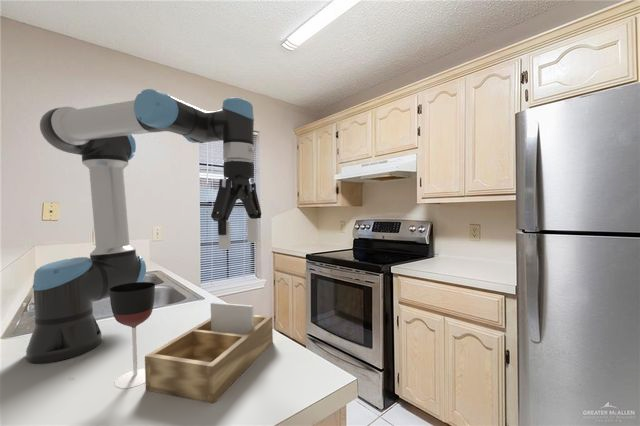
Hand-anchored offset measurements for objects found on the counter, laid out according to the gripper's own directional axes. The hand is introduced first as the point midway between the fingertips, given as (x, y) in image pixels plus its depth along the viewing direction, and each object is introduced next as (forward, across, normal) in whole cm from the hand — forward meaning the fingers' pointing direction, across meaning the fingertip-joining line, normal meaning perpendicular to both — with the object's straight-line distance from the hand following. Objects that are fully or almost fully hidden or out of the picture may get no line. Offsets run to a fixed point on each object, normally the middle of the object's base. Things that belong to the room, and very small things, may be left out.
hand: (239, 245), depth 75 cm
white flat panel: (+26, -1, +2) cm, 26 cm away
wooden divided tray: (+27, -7, +2) cm, 28 cm away
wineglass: (+28, -16, +16) cm, 36 cm away
